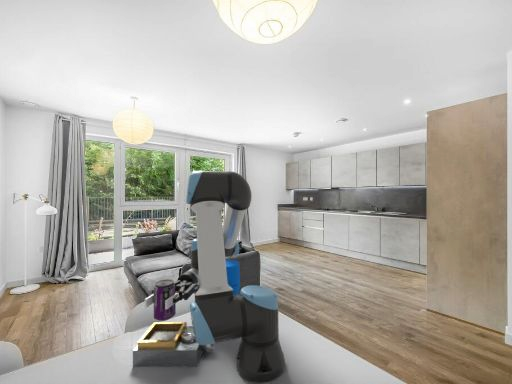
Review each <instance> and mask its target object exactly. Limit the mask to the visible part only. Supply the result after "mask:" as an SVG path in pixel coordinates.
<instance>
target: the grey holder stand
mask: <svg viewBox="0 0 512 384" xmlns="http://www.w3.org/2000/svg"><path fill="white" fill-rule="evenodd" d="M214 348H215V344H208V345H199V344H198V343H197V341H196V339H195V335H194V330H193V325H188V323H187V321H176V322H174V321H170V322H169V321H159V322H157V321H156V322H155V321H154V322H152V324H151V326H149V328H148V329H147V330H146V331H145V333H144V334H143V335H142V336H141V338H139V340H137V344H136V346H135V347H134V348H133V349H132V367H133V368H141V367H142V368H145V367H146V368H147V367H148V368H149V367H155V368H157V367H158V368H159V367H162V368H165V367H166V368H167V367H170V368H171V367H172V368H173V367H174V368H175V367H181V368H182V367H198V365H199V361H200V359H201V355H202V353H203V351H210V350H211V351H213V350H215V349H214Z"/></svg>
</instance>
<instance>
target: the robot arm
mask: <svg viewBox="0 0 512 384" xmlns="http://www.w3.org/2000/svg"><path fill="white" fill-rule="evenodd" d="M252 198H253V197H252V190H251V187H250V184H249V182H248V181H247V180H246V178H245V177H244V176H243V175H241V174H240V173H237V172H236V171H228V170H227V171H225V170H224V171H222V170H221V171H218V170H203V169H202V170H193V171H191V172H190V173H189V175H188V181H187V189H186V198H185V203H186V204H187V205H190V209H191V212H193V213H194V214H195V222H196V223H195V226H196V238H193V239H192V240H191V241H190V242H191V243H190V268H189V270H187V271H185V272H184V273H182V274H181V275H180V276H178V278H177V279H176V280H174V284H175V294H174V295H173V296H171V297H170V298H168V299H167V300H166V301H165V309H168V308H170V307H171V306H172V305H173V304H175V303H176V304H177V303H178V302H180V301H182V300H184V301H188V300H189V299H190V298H191V296H192V295H193V294H194V293H195V292H196V293H195V294H194V300H192V301H191V302H190V303H189V308H190V309H189V310H190V320H191V326H193V330H194V335H195V339H196V341H197V343H198V344H199V345H208V344H214V345H216V344H217V343H218V344H219V343H222V342H227V341H231V340H235V339H240V338H241V340H240V343H239V347H238V350H237V353H236V358H235V365H236V366H235V367H236V370H237V372H238V374H239V375H240V376H241V377H242V378H243V379H245V380H248V381H250V382H253V383H254V382H255V383H267V382H270V381H271V382H272V381H273V380H275V379H277V378H278V377H280V376H281V375H282V374H283V372H284V370H285V366H286V364H285V363H286V362H285V360H286V359H285V354H284V351H283V348H282V345H281V342H280V338H279V337H280V336H279V335H280V334H279V332H280V331H279V307H280V306H279V301H278V299H279V297H278V295H277V292H275V290H273V289H271V288H268V287H266V286H262V285H253V284H251V285H245V286H244V287H242V288H240V294H239V295H234V294H233V289H232V288H231V287H230V286H229V285H228V283H227V272H226V260H227V259H226V258H232V257H237V256H238V255H239V253H240V245H239V242H238V237H239V235H240V230H241V227H242V223H243V221H244V217H245V214H246V210H248V209H249V207H250V206H251V203H252ZM226 205H227V207H226ZM225 207H226V212H225V216H224V221H223V220H222V219H223V217H222V211H223V210H224V209H225ZM198 287H199V288H198ZM150 292H151V294H150V295H149V296H148V297H145V298H144V308H146V309H147V308H149V307H150V306H151V305H154V288H153V289H151V291H150Z"/></svg>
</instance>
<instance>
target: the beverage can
mask: <svg viewBox="0 0 512 384" xmlns="http://www.w3.org/2000/svg"><path fill="white" fill-rule="evenodd" d="M174 282H175V280H174V279H160V280H158V281H156V282H155V283H154V284H155V285H154V287H153V289H154V303H153V319H154V320H157V321H159V322H165V321H168V320H170V319H171V318H173V317H174V316H176V314H177V313H176V308H177V307H176V305H177V303H175V304H173V305H172V306H171V307H170V308H168V309H165V301H166V300H167V299H168V298H170V297H171V296H173V295H174V294H175V293H176V292H175V284H174Z"/></svg>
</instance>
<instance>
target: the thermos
mask: <svg viewBox="0 0 512 384" xmlns="http://www.w3.org/2000/svg"><path fill="white" fill-rule="evenodd" d="M225 260H226V272H227V283H228V285H229V286H230V287H231V288H232V289H233V294H234V295H239V294H240V291H241V283H240V282H241V278H240V277H241V275H240V272H241V271H240V270H241V268H240V266H241V265H240V262H239V261H237V260H232V259H225Z"/></svg>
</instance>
